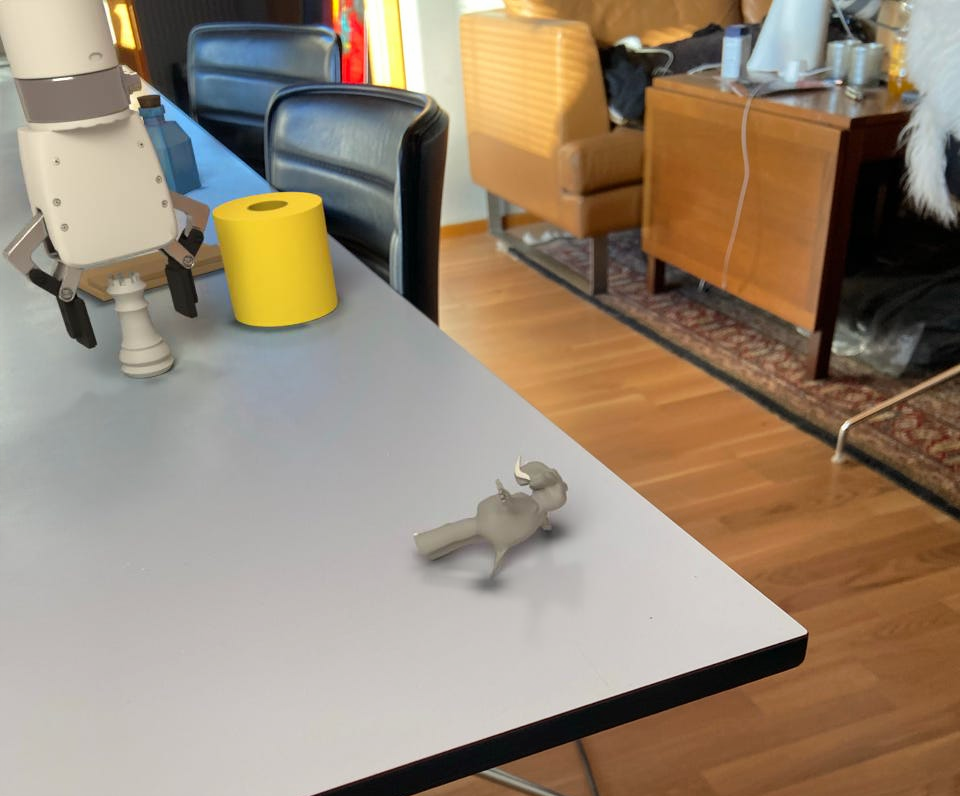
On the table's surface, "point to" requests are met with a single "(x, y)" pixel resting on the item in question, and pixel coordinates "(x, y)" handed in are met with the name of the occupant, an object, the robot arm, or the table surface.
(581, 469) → the table surface
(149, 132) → the perfume bottle
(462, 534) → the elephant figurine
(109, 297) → the wooden board
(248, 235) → the yellow toilet paper roll
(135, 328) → the rook chess piece
